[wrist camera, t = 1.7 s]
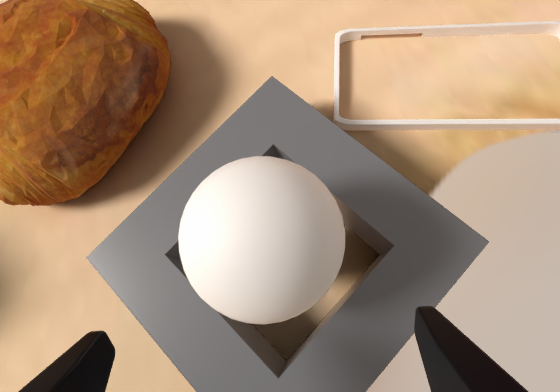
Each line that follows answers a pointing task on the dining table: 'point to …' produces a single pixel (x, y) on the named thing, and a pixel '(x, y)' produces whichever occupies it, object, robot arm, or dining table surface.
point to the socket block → (353, 305)
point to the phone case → (435, 31)
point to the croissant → (73, 92)
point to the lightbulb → (261, 240)
